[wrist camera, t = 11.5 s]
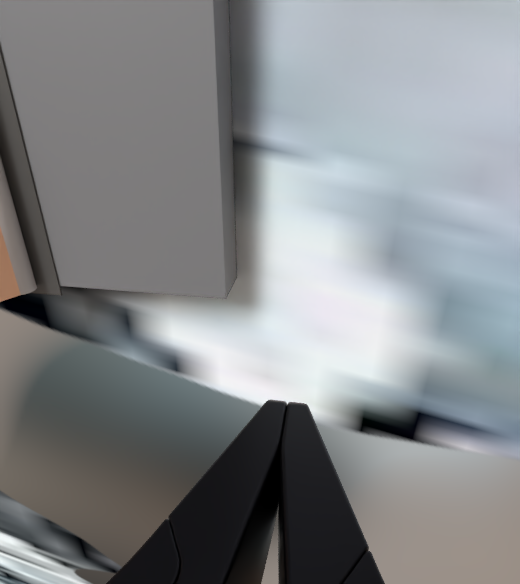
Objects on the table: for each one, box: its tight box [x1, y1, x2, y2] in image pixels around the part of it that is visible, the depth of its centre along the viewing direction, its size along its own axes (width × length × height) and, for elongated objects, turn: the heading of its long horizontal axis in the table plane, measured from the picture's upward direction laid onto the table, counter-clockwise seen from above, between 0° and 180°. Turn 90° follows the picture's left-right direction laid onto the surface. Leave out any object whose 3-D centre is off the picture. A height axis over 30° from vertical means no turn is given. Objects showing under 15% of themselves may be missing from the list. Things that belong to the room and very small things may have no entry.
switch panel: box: [0, 0, 237, 299], centre depth 17 cm, size 16×22×3 cm
